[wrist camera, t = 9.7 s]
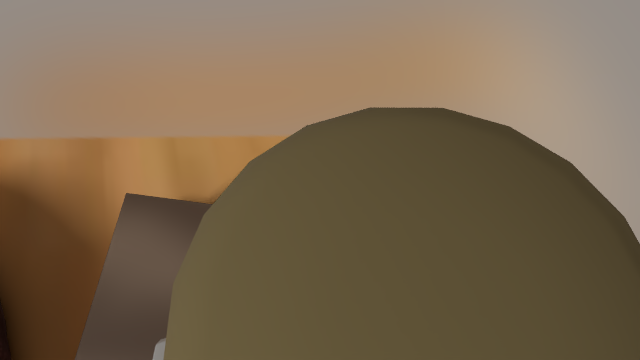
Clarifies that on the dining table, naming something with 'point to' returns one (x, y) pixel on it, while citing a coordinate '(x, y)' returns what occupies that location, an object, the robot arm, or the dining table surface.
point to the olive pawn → (408, 250)
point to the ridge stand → (139, 278)
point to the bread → (3, 338)
